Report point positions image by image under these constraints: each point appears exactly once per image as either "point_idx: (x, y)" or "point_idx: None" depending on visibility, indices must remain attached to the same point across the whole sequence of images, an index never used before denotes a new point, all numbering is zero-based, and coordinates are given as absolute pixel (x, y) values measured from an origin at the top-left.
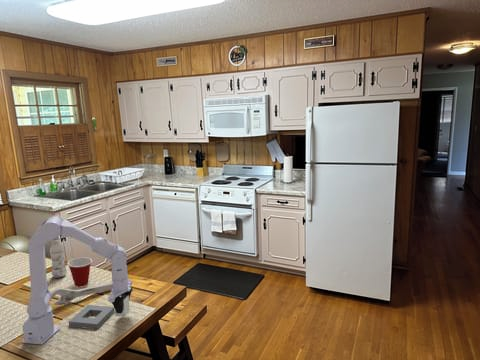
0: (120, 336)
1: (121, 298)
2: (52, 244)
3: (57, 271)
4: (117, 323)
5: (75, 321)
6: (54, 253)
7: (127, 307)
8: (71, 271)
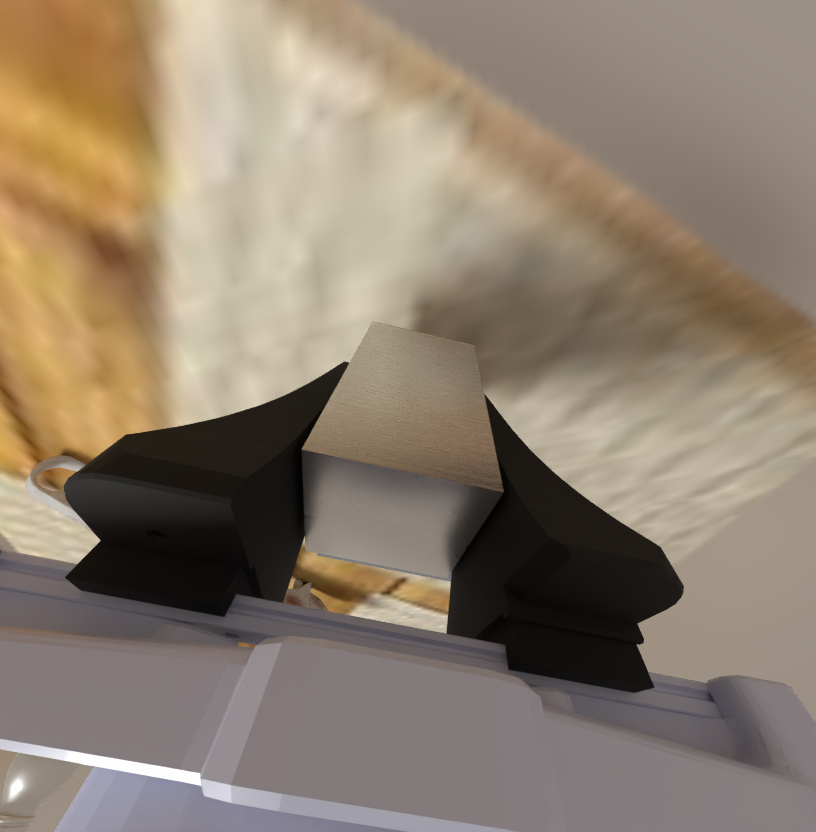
0: (713, 303)
1: (619, 590)
2: (38, 806)
3: None
4: (485, 377)
5: None
6: None
7: (404, 359)
8: None
